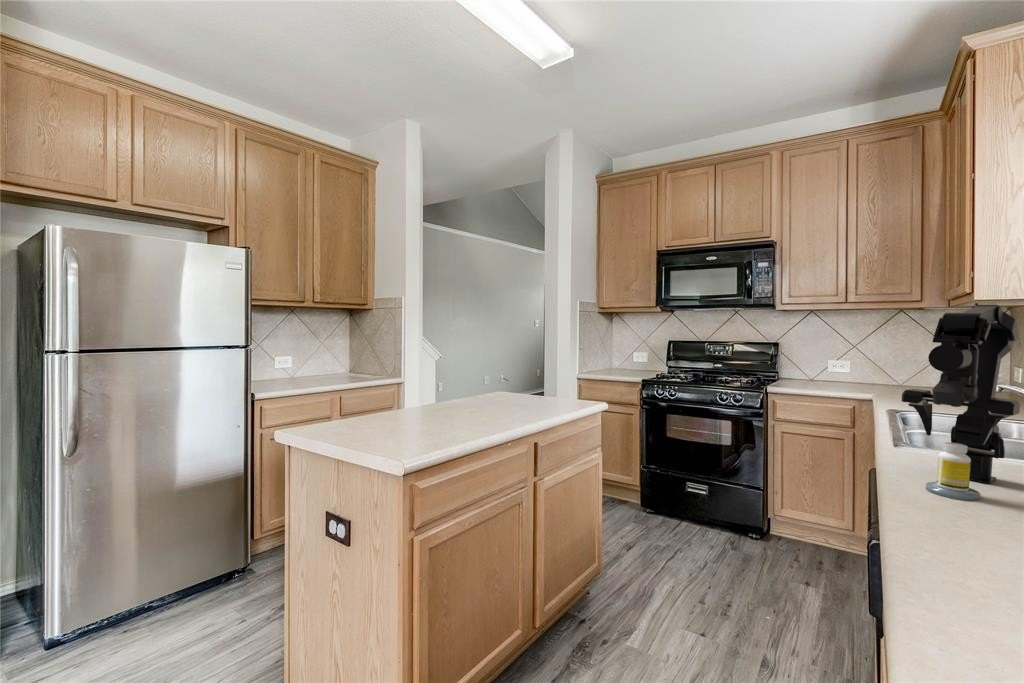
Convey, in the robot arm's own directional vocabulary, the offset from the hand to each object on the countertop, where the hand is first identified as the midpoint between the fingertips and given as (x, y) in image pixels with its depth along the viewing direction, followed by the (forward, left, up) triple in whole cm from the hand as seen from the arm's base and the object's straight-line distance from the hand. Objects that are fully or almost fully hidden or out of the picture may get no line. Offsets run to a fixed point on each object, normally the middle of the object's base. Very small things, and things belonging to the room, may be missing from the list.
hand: (954, 439), depth 110 cm
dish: (0, 0, -12) cm, 12 cm away
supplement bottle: (0, 0, -11) cm, 11 cm away
